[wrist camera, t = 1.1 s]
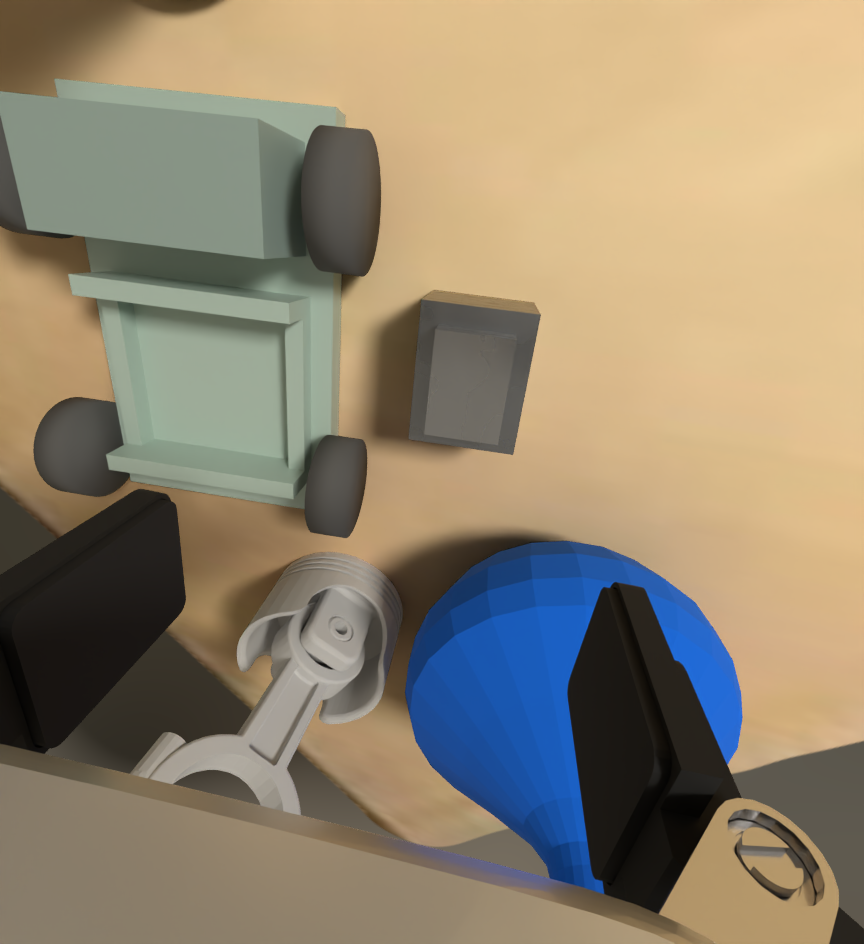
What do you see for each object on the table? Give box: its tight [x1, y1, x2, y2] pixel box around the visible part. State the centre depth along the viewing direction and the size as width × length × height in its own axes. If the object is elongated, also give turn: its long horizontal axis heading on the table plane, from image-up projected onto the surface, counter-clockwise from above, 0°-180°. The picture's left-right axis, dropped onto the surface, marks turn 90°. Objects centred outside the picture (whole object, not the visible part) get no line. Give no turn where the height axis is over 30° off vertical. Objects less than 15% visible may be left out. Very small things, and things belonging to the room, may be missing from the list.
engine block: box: [409, 290, 541, 455], centre depth 25 cm, size 7×6×6 cm
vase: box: [405, 541, 742, 894], centre depth 26 cm, size 18×18×19 cm
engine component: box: [130, 552, 403, 815], centre depth 28 cm, size 11×20×10 cm
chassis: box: [0, 79, 381, 538], centre depth 26 cm, size 22×18×6 cm
